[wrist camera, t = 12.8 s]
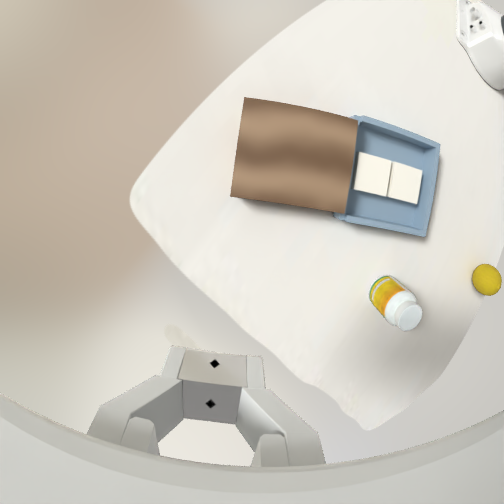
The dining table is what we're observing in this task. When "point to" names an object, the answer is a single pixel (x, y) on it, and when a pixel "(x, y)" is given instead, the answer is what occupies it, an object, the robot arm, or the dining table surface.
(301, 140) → the flat wooden block
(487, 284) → the lemon
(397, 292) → the supplement bottle
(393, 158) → the box
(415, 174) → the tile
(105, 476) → the robot arm
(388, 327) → the dining table surface
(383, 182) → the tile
